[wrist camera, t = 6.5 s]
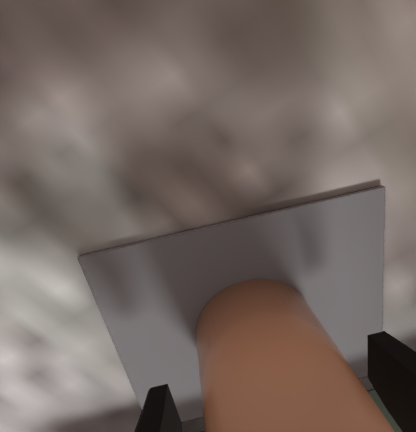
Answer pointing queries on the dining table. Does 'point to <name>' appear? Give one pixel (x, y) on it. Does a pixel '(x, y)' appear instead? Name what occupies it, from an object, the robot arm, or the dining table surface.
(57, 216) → the dining table surface
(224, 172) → the dining table surface
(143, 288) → the mat
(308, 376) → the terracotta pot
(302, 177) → the dining table surface
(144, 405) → the robot arm
